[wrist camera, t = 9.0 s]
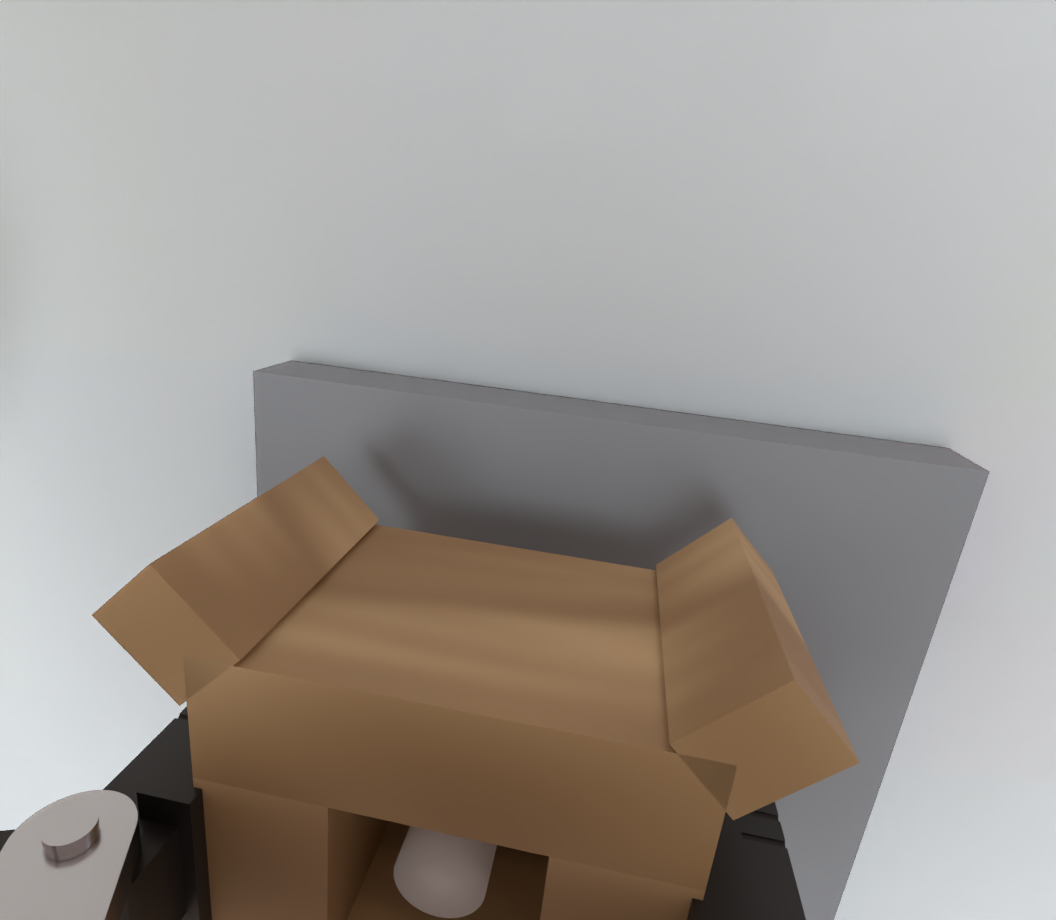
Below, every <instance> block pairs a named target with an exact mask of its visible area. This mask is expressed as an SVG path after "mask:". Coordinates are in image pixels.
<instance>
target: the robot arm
mask: <svg viewBox="0 0 1056 920" xmlns="http://www.w3.org/2000/svg"><path fill="white" fill-rule="evenodd" d="M778 816H779V815H778V811H777V808H776V804H775V802H773V803H771V804H768V805H766V806H764V807H762V808H760V809H757V810H755V811H753V812H751V813H749V814H746V815H744V816H742V817H740V818H738V819H735V820H732V818H731V817H730V816H729V815H728V814H727V812H726V813H725V816H724V820H723V824H722V828H721V832H720V836H719V840H718V844H717V848H716V851H715V855H714V859H713V863H712V867H711V871H710V875H709V879H708V883H707V887H706V890H705V894H704V898H703V900H698V899H694V898H692V901H691V905H690V909H689V913H688V917H687V920H806V918H805V914H804V910H803V906H802V903H801V899H800V895H799V891H798V887H797V884H796V880H795V876H794V872H793V868H792V865H791V861H790V857H789V853H788V849H787V848H785V838H784V834H783V830H782V827H781V823H780V822H779V821H778ZM0 920H212V912H211V899H210V886H209V872H208V859H207V846H206V832H205V819H204V806H203V792H202V789H200V788H196V787H193V774H192V762H191V749H190V737H189V724H188V712H187V707H186V708H185V709H184V710H183V711H182V712H181V713H180V716H179V718H178V719H176V718H175V719H174V720H173V721H172V722H171V723H170V724H169V725H168V726H167V727H166V728H165V729H164V730H163V731H162V732H161V733H160V734H159V735H158V736H157V737H156V738H155V739H154V740H153V741H152V742H151V743H150V744H149V745H148V746H147V747H146V748H145V749H144V750H143V751H142V752H141V753H140V754H139V755H138V756H137V757H136V758H135V759H134V760H133V761H132V762H131V763H130V764H129V765H128V766H127V767H126V768H125V769H124V770H123V771H122V772H121V773H120V774H118V775H117V776H116V777H115V778H114V779H113V780H112V781H111V782H110V783H109V784H108V785H107V786H106V787H105V788H104V789H103V790H92V791H86V792H81V793H77V794H74V795H70V796H68V797H65V798H62V799H60V800H57V801H55V802H53V803H51V804H49V805H47V806H46V807H44V808H42V809H41V810H39V811H37V812H36V813H35V814H33V815H32V816H31V817H29V818H28V819H27V820H25V821H24V822H23V823H22V824H21V825H20V826H19V827H18V828H17V829H16V830H6V831H0Z"/></svg>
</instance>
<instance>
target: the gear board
mask: <svg viewBox="0 0 1056 920" xmlns="http://www.w3.org/2000/svg"><path fill="white" fill-rule="evenodd" d="M253 381H254V411H255V441H256V470H257V497H259V496H260V495H262V494H263V493H265V492H267V491H268V490H270V489H272V488H273V487H275V486H276V485H278V484H280V483H281V482H283V481H284V480H286V479H288V478H289V477H291V476H293V475H294V474H296V473H297V472H299V471H301V470H302V469H304V468H305V467H307V466H309V465H310V464H312V463H313V462H315V461H317V460H318V459H320V458H322V457H323V456H324V457H325V458H326V459H327V460H328V461H329V462H330V463H331V465H332V466H333V467H334V468H335V469H336V470H337V472H338V473H339V474H340V475H341V476H342V477H343V479H344V480H345V481H346V482H347V483H348V484H349V485H350V487H351V488H352V489H353V490H354V491H355V492H356V494H357V495H358V496H359V497H360V498H361V499H362V501H363V502H364V503H365V504H366V505H367V506H368V507H369V509H370V510H371V511H372V512H373V513H374V514H375V516H376V517H377V518H378V519H379V521H378V522H377V523H376V525H382V526H388V527H394V528H400V529H406V530H412V531H418V532H424V533H431V534H437V535H443V536H449V537H455V538H461V539H467V540H473V541H479V542H486V543H492V544H498V545H504V546H510V547H516V548H522V549H528V550H534V551H540V552H547V553H553V554H559V555H565V556H571V557H577V558H583V559H589V560H595V561H602V562H608V563H614V564H620V565H626V566H632V567H638V568H644V569H650V570H656V565H657V564H658V563H660V562H661V561H663V560H665V559H666V558H668V557H669V556H671V555H673V554H674V553H676V552H677V551H679V550H681V549H682V548H684V547H685V546H687V545H689V544H690V543H692V542H693V541H695V540H697V539H698V538H700V537H701V536H703V535H705V534H706V533H708V532H710V531H711V530H713V529H714V528H716V527H718V526H719V525H721V524H722V523H724V522H726V521H727V520H729V519H730V518H732V519H733V520H734V522H735V523H736V524H737V526H738V527H739V528H740V530H741V531H742V532H743V534H744V535H745V536H746V537H747V539H748V540H749V541H750V543H751V544H752V545H753V547H754V548H755V549H756V551H757V552H758V553H759V554H760V556H761V557H762V558H763V560H764V561H765V562H766V564H767V565H768V566H769V568H770V569H771V570H772V572H773V574H774V576H775V578H776V580H777V583H778V585H779V587H780V589H781V591H782V594H783V596H784V598H785V600H786V602H787V604H788V607H789V609H790V611H791V613H792V615H793V618H794V620H795V622H796V624H797V626H798V629H799V631H800V633H801V635H802V637H803V640H804V642H805V644H806V646H807V648H808V651H809V653H810V655H811V657H812V659H813V662H814V664H815V666H816V668H817V670H818V672H819V675H820V677H821V679H822V681H823V683H824V686H825V688H826V690H827V692H828V694H829V697H830V699H831V701H832V703H833V705H834V708H835V710H836V712H837V714H838V716H839V719H840V721H841V723H842V725H843V727H844V730H845V732H846V734H847V736H848V738H849V741H850V743H851V745H852V747H853V749H854V751H855V754H856V756H857V758H858V760H859V762H860V763H858V764H856V765H854V766H852V767H850V768H847V769H845V770H843V771H841V772H839V773H836V774H834V775H832V776H830V777H828V778H825V779H823V780H821V781H819V782H817V783H814V784H812V785H810V786H808V787H806V788H803V789H801V790H799V791H797V792H795V793H792V794H790V795H788V796H786V797H784V798H781V799H779V800H777V801H775V804H776V808H777V811H778V815H779V816H778V821H779V822H780V823H781V827H782V830H783V834H784V838H785V848H787V849H788V853H789V857H790V861H791V865H792V868H793V872H794V876H795V880H796V884H797V887H798V891H799V895H800V899H801V903H802V906H803V910H804V914H805V918H806V920H834V917H835V914H836V912H837V909H838V906H839V903H840V900H841V897H842V894H843V891H844V889H845V886H846V883H847V880H848V877H849V874H850V871H851V868H852V866H853V863H854V860H855V857H856V854H857V851H858V848H859V845H860V843H861V840H862V837H863V834H864V831H865V828H866V825H867V822H868V820H869V817H870V814H871V811H872V808H873V805H874V802H875V799H876V797H877V794H878V791H879V788H880V785H881V782H882V779H883V776H884V774H885V771H886V768H887V765H888V762H889V759H890V756H891V753H892V751H893V748H894V745H895V742H896V739H897V736H898V733H899V730H900V728H901V725H902V722H903V719H904V716H905V713H906V710H907V707H908V705H909V702H910V699H911V696H912V693H913V690H914V687H915V684H916V682H917V679H918V676H919V673H920V670H921V667H922V664H923V661H924V659H925V656H926V653H927V650H928V647H929V644H930V641H931V638H932V635H933V633H934V630H935V627H936V624H937V621H938V618H939V615H940V612H941V610H942V607H943V604H944V601H945V598H946V595H947V592H948V589H949V587H950V584H951V581H952V578H953V575H954V572H955V569H956V566H957V564H958V561H959V558H960V555H961V552H962V549H963V546H964V543H965V541H966V538H967V535H968V532H969V529H970V526H971V523H972V520H973V518H974V515H975V512H976V509H977V506H978V503H979V500H980V497H981V495H982V492H983V489H984V486H985V483H986V480H987V477H988V474H989V471H987V470H986V469H984V468H982V467H980V466H979V465H977V464H975V463H973V462H972V461H970V460H968V459H967V458H965V457H963V456H961V455H960V454H958V453H956V452H954V451H953V450H951V449H949V448H942V447H934V446H927V445H919V444H912V443H904V442H897V441H889V440H882V439H874V438H867V437H859V436H852V435H844V434H837V433H829V432H822V431H814V430H807V429H799V428H792V427H784V426H777V425H769V424H762V423H754V422H747V421H739V420H732V419H724V418H717V417H709V416H702V415H694V414H687V413H679V412H672V411H664V410H657V409H649V408H642V407H634V406H627V405H619V404H612V403H604V402H597V401H589V400H582V399H574V398H567V397H559V396H552V395H544V394H537V393H529V392H522V391H514V390H507V389H499V388H492V387H484V386H477V385H469V384H462V383H454V382H447V381H439V380H432V379H424V378H417V377H409V376H402V375H394V374H387V373H379V372H372V371H364V370H357V369H349V368H342V367H334V366H327V365H319V364H312V363H304V362H297V361H288V362H284V363H281V364H277V365H274V366H270V367H267V368H263V369H259V370H256V371H253ZM496 848H497V845H494V844H490V843H485V842H481V841H476V840H472V839H467V838H463V837H458V836H454V835H449V834H445V833H440V832H436V831H431V830H427V829H422V828H418V827H413V826H410V827H409V830H408V832H407V835H406V837H405V840H404V842H403V845H402V847H401V850H400V852H399V855H398V857H397V860H396V863H395V866H394V871H393V872H394V880H395V883H396V886H397V888H398V890H399V891H400V893H401V894H402V896H403V897H404V898H405V899H406V900H407V901H408V902H409V903H410V904H412V905H413V906H414V907H416V908H417V909H419V910H421V911H423V912H425V913H427V914H430V915H433V916H437V917H442V918H458V917H463V916H466V915H469V914H471V913H473V912H474V911H475V910H477V909H478V908H479V907H480V906H481V904H482V903H483V901H484V898H485V895H486V890H487V886H488V882H489V877H490V873H491V869H492V865H493V860H494V856H495V852H496Z"/></svg>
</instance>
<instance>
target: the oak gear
mask: <svg viewBox="0 0 1056 920" xmlns="http://www.w3.org/2000/svg"><path fill="white" fill-rule="evenodd" d="M378 521H379V519H378V518H377V517H376V516H375V514H374V513H373V512H372V511H371V510H370V509H369V507H368V506H367V505H366V504H365V503H364V502H363V501H362V499H361V498H360V497H359V496H358V495H357V494H356V492H355V491H354V490H353V489H352V488H351V487H350V485H349V484H348V483H347V482H346V481H345V480H344V479H343V477H342V476H341V475H340V474H339V473H338V472H337V470H336V469H335V468H334V467H333V466H332V465H331V463H330V462H329V461H328V460H327V459H326V458H325V457H324V456H323V457H322V458H320V459H318V460H317V461H315V462H313V463H312V464H310V465H309V466H307V467H305V468H304V469H302V470H301V471H299V472H297V473H296V474H294V475H293V476H291V477H289V478H288V479H286V480H284V481H283V482H281V483H280V484H278V485H276V486H275V487H273V488H272V489H270V490H268V491H267V492H265V493H263V494H262V495H260V496H259V497H257V498H255V499H254V500H252V501H251V502H249V503H247V504H246V505H244V506H242V507H241V508H239V509H238V510H236V511H234V512H233V513H231V514H230V515H228V516H226V517H225V518H223V519H222V520H220V521H218V522H217V523H215V524H213V525H212V526H210V527H209V528H207V529H205V530H204V531H202V532H201V533H199V534H197V535H196V536H194V537H192V538H191V539H189V540H188V541H186V542H184V543H183V544H181V545H180V546H178V547H176V548H175V549H173V550H171V551H170V552H168V553H167V554H165V555H163V556H162V557H160V558H159V559H157V560H155V561H154V562H152V563H151V564H149V565H148V566H147V567H146V568H145V569H143V570H142V571H141V572H140V573H139V574H138V575H137V576H136V577H134V578H133V579H132V580H131V581H130V582H129V583H128V584H126V585H125V586H124V587H123V588H122V589H121V590H120V591H119V592H117V593H116V594H115V595H114V596H113V597H112V598H111V599H109V600H108V601H107V602H106V603H105V604H104V605H103V606H102V607H100V608H99V609H98V610H97V611H96V612H95V613H94V614H93V615H92V616H93V617H94V618H95V619H96V620H97V621H98V622H99V623H100V624H101V625H102V626H103V627H104V628H105V629H106V630H107V632H108V633H109V634H110V635H111V636H112V637H113V638H114V639H115V640H116V641H117V642H118V643H119V644H120V645H121V646H122V647H123V648H124V649H125V650H126V651H127V652H128V653H129V654H130V655H131V656H132V657H133V658H134V659H135V660H136V661H137V662H138V663H139V664H140V665H141V666H142V668H143V669H144V670H145V671H146V672H147V673H148V674H149V675H150V676H151V677H152V678H153V679H154V680H155V681H156V682H157V683H158V684H159V685H160V686H161V687H162V688H163V689H164V690H165V691H166V692H167V693H168V694H169V695H170V696H171V697H172V698H173V699H174V700H175V701H176V703H177V704H178V705H179V706H180V705H181V704H183V703H184V702H185V701H187V712H188V724H189V737H190V749H191V762H192V774H193V787H196V788H200V789H202V792H203V806H204V819H205V832H206V846H207V859H208V872H209V886H210V899H211V912H212V920H687V917H688V913H689V909H690V905H691V901H692V898H694V899H698V900H703V898H704V894H705V890H706V887H707V883H708V879H709V875H710V871H711V867H712V863H713V859H714V855H715V851H716V848H717V844H718V840H719V836H720V832H721V828H722V824H723V820H724V816H725V813H726V812H727V814H728V815H729V816H730V817H731V818H732V820H735V819H738V818H740V817H742V816H744V815H746V814H749V813H751V812H753V811H755V810H757V809H760V808H762V807H764V806H766V805H768V804H771V803H773V802H775V801H777V800H779V799H781V798H784V797H786V796H788V795H790V794H792V793H795V792H797V791H799V790H801V789H803V788H806V787H808V786H810V785H812V784H814V783H817V782H819V781H821V780H823V779H825V778H828V777H830V776H832V775H834V774H836V773H839V772H841V771H843V770H845V769H847V768H850V767H852V766H854V765H856V764H858V763H860V762H859V760H858V758H857V756H856V754H855V751H854V749H853V747H852V745H851V743H850V741H849V738H848V736H847V734H846V732H845V730H844V727H843V725H842V723H841V721H840V719H839V716H838V714H837V712H836V710H835V708H834V705H833V703H832V701H831V699H830V697H829V694H828V692H827V690H826V688H825V686H824V683H823V681H822V679H821V677H820V675H819V672H818V670H817V668H816V666H815V664H814V662H813V659H812V657H811V655H810V653H809V651H808V648H807V646H806V644H805V642H804V640H803V637H802V635H801V633H800V631H799V629H798V626H797V624H796V622H795V620H794V618H793V615H792V613H791V611H790V609H789V607H788V604H787V602H786V600H785V598H784V596H783V594H782V591H781V589H780V587H779V585H778V583H777V580H776V578H775V576H774V574H773V572H772V570H771V569H770V568H769V566H768V565H767V564H766V562H765V561H764V560H763V558H762V557H761V556H760V554H759V553H758V552H757V551H756V549H755V548H754V547H753V545H752V544H751V543H750V541H749V540H748V539H747V537H746V536H745V535H744V534H743V532H742V531H741V530H740V528H739V527H738V526H737V524H736V523H735V522H734V520H733V519H732V518H730V519H729V520H727V521H726V522H724V523H722V524H721V525H719V526H718V527H716V528H714V529H713V530H711V531H710V532H708V533H706V534H705V535H703V536H701V537H700V538H698V539H697V540H695V541H693V542H692V543H690V544H689V545H687V546H685V547H684V548H682V549H681V550H679V551H677V552H676V553H674V554H673V555H671V556H669V557H668V558H666V559H665V560H663V561H661V562H660V563H658V564H657V565H656V570H650V569H644V568H638V567H632V566H626V565H620V564H614V563H608V562H602V561H595V560H589V559H583V558H577V557H571V556H565V555H559V554H553V553H547V552H540V551H534V550H528V549H522V548H516V547H510V546H504V545H498V544H492V543H486V542H479V541H473V540H467V539H461V538H455V537H449V536H443V535H437V534H431V533H424V532H418V531H412V530H406V529H400V528H394V527H388V526H382V525H376V523H377V522H378ZM410 826H413V827H418V828H422V829H427V830H431V831H436V832H440V833H445V834H449V835H454V836H458V837H463V838H467V839H472V840H476V841H481V842H485V843H490V844H494V845H497V848H496V852H495V856H494V860H493V865H492V869H491V873H490V877H489V882H488V886H487V890H486V895H485V898H484V901H483V903H482V904H481V906H480V907H479V908H478V909H477V910H475V911H474V912H473V913H471V914H469V915H466V916H463V917H458V918H442V917H437V916H433V915H430V914H427V913H425V912H423V911H421V910H419V909H417V908H416V907H414V906H413V905H412V904H410V903H409V902H408V901H407V900H406V899H405V898H404V897H403V896H402V894H401V893H400V891H399V890H398V888H397V886H396V883H395V880H394V872H393V871H394V866H395V863H396V860H397V857H398V855H399V852H400V850H401V847H402V845H403V842H404V840H405V837H406V835H407V832H408V830H409V827H410Z"/></svg>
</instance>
